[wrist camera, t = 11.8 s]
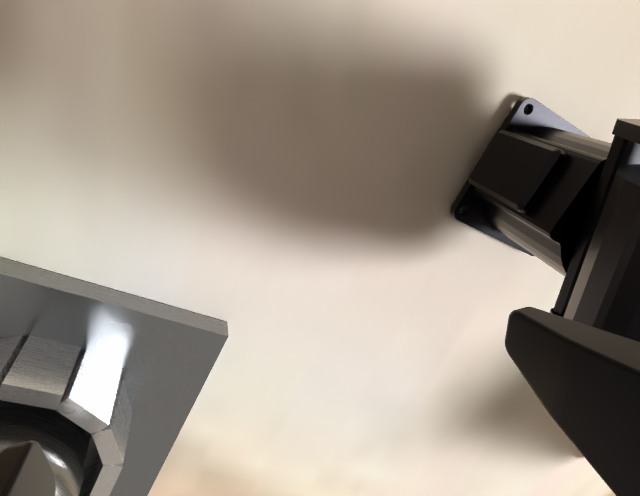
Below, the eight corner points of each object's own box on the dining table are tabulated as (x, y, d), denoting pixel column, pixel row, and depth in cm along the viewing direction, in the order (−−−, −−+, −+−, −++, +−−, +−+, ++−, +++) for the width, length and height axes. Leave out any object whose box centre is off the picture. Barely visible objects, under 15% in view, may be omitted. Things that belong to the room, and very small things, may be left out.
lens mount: (227, 321, 23) (231, 381, 19) (134, 506, 27) (123, 586, 23) (-113, 224, 17) (-205, 280, 13) (-164, 474, 21) (-245, 572, 17)
